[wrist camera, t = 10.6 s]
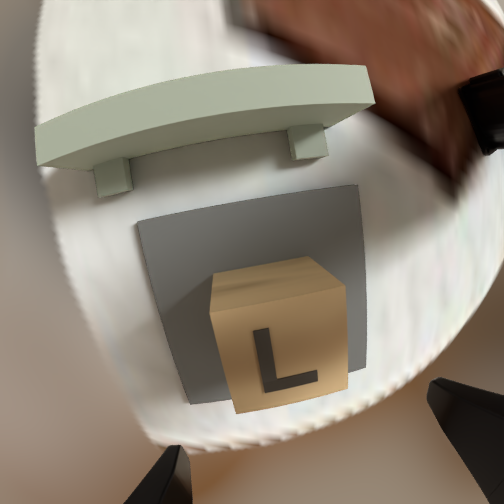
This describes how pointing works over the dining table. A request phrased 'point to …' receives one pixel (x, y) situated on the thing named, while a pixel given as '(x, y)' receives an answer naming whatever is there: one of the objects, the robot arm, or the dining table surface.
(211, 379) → the charcoal pad
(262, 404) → the marked cube
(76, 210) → the dining table surface
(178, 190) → the dining table surface
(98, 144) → the sage screen
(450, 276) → the dining table surface
